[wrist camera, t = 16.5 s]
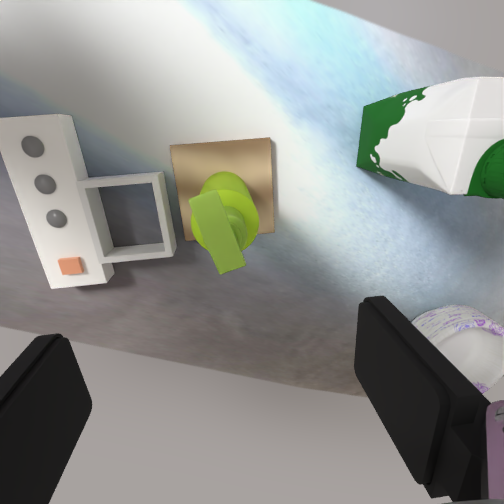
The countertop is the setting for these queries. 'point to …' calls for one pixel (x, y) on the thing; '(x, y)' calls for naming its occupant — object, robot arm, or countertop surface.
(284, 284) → the countertop surface
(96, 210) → the white holder tray
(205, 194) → the soap dispenser
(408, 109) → the milk carton
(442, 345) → the paper bowls
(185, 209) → the oak board
